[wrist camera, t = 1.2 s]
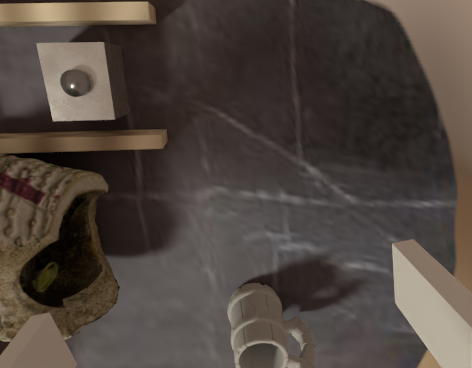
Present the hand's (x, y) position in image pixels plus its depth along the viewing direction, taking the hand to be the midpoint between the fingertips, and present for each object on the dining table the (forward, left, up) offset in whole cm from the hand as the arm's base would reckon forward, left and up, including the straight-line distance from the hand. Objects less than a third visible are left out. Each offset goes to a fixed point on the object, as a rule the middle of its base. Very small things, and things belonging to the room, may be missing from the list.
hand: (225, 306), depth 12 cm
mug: (+6, -24, -28) cm, 37 cm away
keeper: (-13, +7, -28) cm, 32 cm away
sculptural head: (-24, -9, -28) cm, 38 cm away
